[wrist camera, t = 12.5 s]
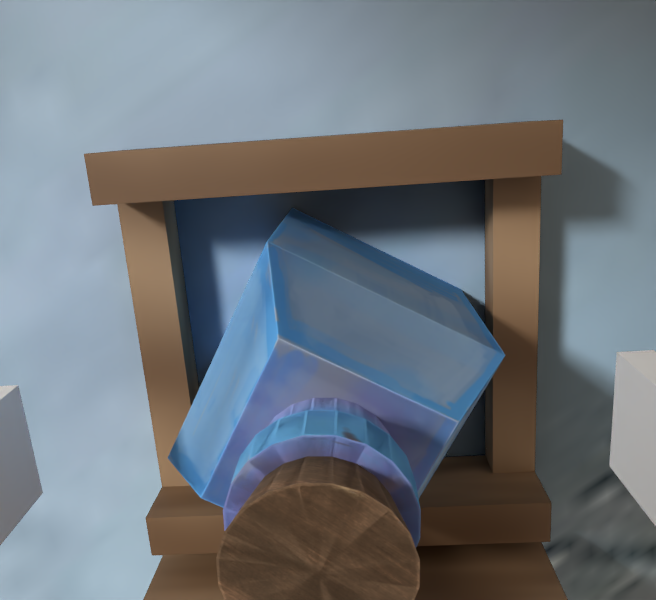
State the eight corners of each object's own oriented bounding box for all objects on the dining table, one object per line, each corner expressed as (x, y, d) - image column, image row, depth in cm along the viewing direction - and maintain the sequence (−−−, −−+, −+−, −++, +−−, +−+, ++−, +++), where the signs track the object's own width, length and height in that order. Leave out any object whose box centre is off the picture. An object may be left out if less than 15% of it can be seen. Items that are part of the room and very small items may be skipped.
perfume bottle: (218, 367, 22) (64, 641, 10) (292, 207, 20) (210, 315, 8) (376, 439, 22) (403, 779, 11) (461, 289, 21) (600, 496, 9)
